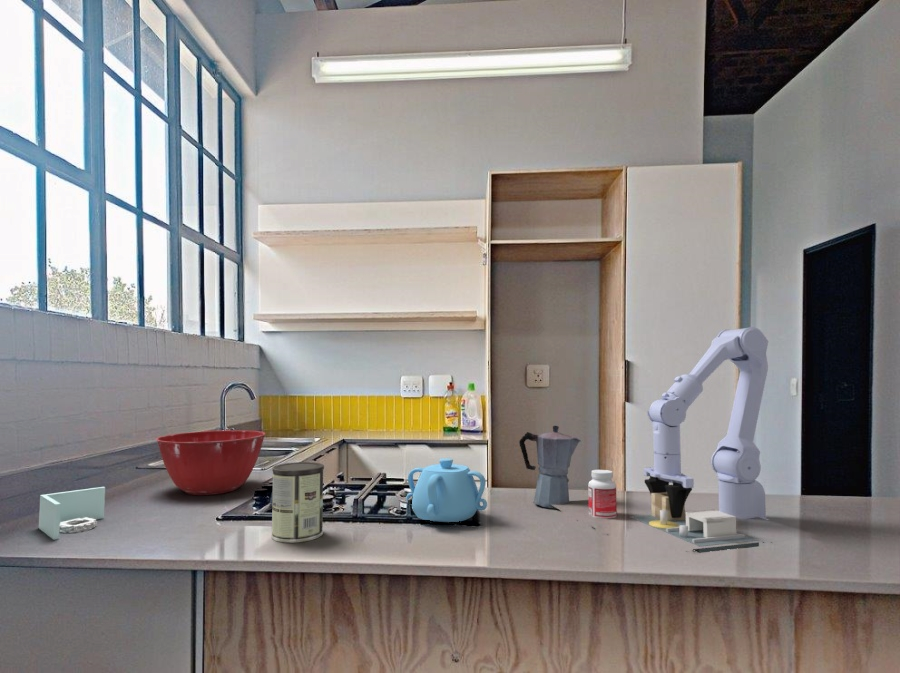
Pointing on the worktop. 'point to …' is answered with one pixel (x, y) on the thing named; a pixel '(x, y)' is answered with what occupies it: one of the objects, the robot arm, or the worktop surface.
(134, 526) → the worktop surface
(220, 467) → the mixing bowl
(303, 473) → the coffee can
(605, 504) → the pill bottle
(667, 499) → the collar
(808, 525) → the worktop surface
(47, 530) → the right angle wall
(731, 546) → the board
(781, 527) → the worktop surface
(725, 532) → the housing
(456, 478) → the decorative pot
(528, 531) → the worktop surface
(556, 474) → the moka pot
